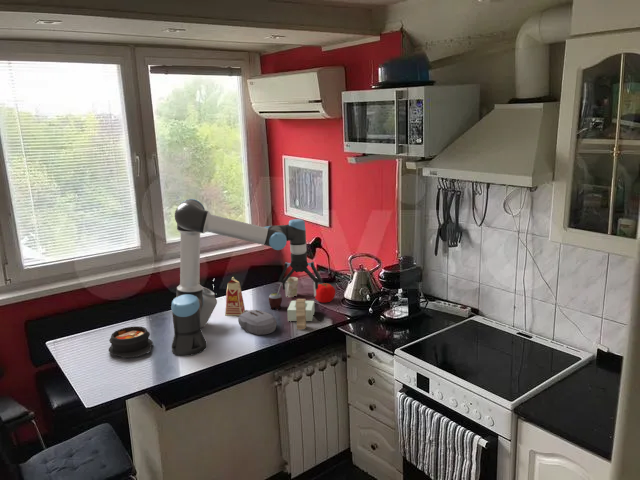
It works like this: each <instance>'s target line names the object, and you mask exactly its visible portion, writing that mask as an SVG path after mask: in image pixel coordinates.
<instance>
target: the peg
mask: <svg viewBox="0 0 640 480" xmlns="http://www.w3.org/2000/svg"><path fill="white" fill-rule="evenodd" d="M295 301H296V318H297V322H296V330H302V329H305V328H307V322H306V307H305V301H306V298H296V300H295ZM305 330H306V329H305Z"/></svg>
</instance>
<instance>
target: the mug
mask: <svg viewBox="0 0 640 480" xmlns="http://www.w3.org/2000/svg"><path fill="white" fill-rule="evenodd" d="M286 282H287V286H288V297H287V298H295V297H294V296H296V297H297V296H298V289H299V288H298V285H299V278H298V277H296V276H290V277H289V278H288V279H287V281H286Z"/></svg>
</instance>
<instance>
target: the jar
mask: <svg viewBox="0 0 640 480" xmlns="http://www.w3.org/2000/svg"><path fill="white" fill-rule="evenodd" d="M212 281H213V282H214V281H215V279H213V280H212ZM212 286H213V288H214V287H215V286H214V285H212ZM202 287H203V306H202V309H201V313H200V320H201V328H204V327H205V326H206V325H207V323H208V322H209V319H210V318H211V316H212V314H213V312H214V311H215V308H216V307H217V304H218V300H217V298H216V296H215V295H216V293H215V292H214V291H213V290H211V289H210V288H207V287H204V286H202Z"/></svg>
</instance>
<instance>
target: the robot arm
mask: <svg viewBox="0 0 640 480" xmlns="http://www.w3.org/2000/svg"><path fill="white" fill-rule="evenodd" d="M174 221H175V223H176V230H177V231H178V232H179V233H180V245H179V246H180V247H179V248H180V251H179V252H180V254H179V256H180V259H179V260H180V261H179V262H180V263H179V264H180V266H179V272H180V273H179V277H180V278H179V279H180V280H179V285H178V286H176V297H174V298H173V300H171V306H170V308H171V314H172V322H173V332H174V335H173V338H172V342H171V353H172V354H173V355H175V356H180V357H181V356H183V357H186V356H193V355H194V356H195V355H197V354H201V353H202V352H204V351H205V350H207V348H208V345H207V343H208V342H207V340H206V337H205V335H204V333H203V331H202V327H201V320H200V313H201V309H202V306H203V287H204V286H202V285H201V284H200V273H201V272H200V270H201V269H200V266H201V265H200V264H201V261H200V260H201V259H200V257H201V256H200V255H201V234H205V233H211V234H216V235H220V236H224V237H228V238H232V239H237V240H241V241H245V242H250V243H254V244H258V245H263V246H266V247H270V248H272V249H273V250H276V251H280V250H283V249H284V248H285V247H286V245H287V242H289V248H290V262H287V261H285V263H284V264H283V265H284V266H283V270H282V272H281V274H280V276H279V278H278V283H281V284H282V283H283V284H282V290H284V292H285V293H284V294H285V298H288V297H287V296H288V286H287V282H286V281H287V279H288V278H289V277H292V275H293V273H294V272H296V273H303V272H304V273H305V274H306V275H307V276H308V277H309V278H310V279H311V280H312V281H313V297H314V298H315V297H316V289H318V284H319V283H321V282H322V280H323V279H322V276H321V275H320V273H319V271H318V270H317V268H316V266H315V263H314V261H311V262H308V256H307V255H308V253H307V251H308V250H307V234H306V233H307V232H306V231H307V230H306V221H305V220H304V219H301V218H294V219H290V220H289V221H288V224H281V225H268V226H260V225H256V224H252V223H247V222H244V221H240V220H235V219H231V218H227V217H223V216H218V215H216V214H212V213H210V211H209V210H206V209H205V207H204V205H203V203H202V202H200V201H199V200H197V199H195V198H187V199H185V200H183V201H181V202H180V204H179V205H178V206H177V208H176V209H175V211H174ZM308 266H309V267H310V268H311V270H312V272H313V273H314V274H313V273H312V272H311V271H310V269H309V268H308ZM289 267H291V270H290V271H289V272H288V274H287V275H286V276H285V273H286V271H287V269H288V268H289ZM284 276H285V277H284Z"/></svg>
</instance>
